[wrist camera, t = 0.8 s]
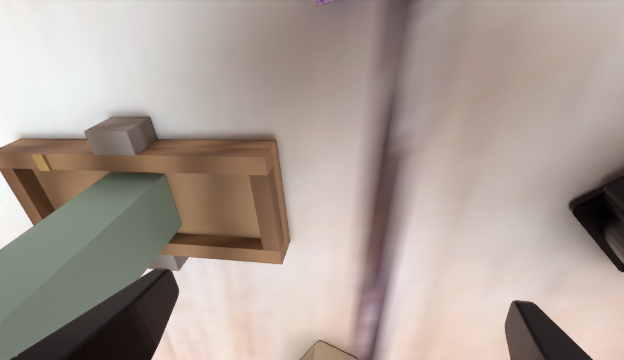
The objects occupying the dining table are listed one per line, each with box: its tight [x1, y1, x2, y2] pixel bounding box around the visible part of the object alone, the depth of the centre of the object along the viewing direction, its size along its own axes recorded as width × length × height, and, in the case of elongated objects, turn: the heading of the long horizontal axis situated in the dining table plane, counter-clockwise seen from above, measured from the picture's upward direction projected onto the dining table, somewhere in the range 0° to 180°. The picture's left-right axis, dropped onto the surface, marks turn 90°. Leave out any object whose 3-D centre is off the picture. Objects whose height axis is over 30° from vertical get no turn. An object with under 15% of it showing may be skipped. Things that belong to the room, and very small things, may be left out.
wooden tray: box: [0, 117, 290, 271], centre depth 24 cm, size 20×12×3 cm, turn 94°
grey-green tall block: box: [0, 173, 182, 360], centre depth 19 cm, size 4×4×13 cm
